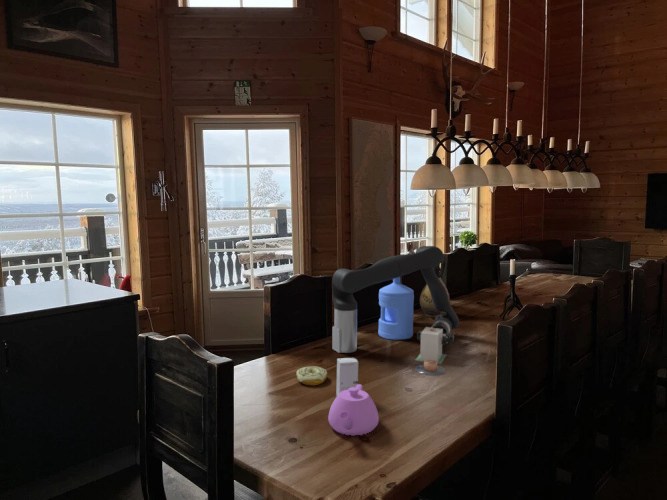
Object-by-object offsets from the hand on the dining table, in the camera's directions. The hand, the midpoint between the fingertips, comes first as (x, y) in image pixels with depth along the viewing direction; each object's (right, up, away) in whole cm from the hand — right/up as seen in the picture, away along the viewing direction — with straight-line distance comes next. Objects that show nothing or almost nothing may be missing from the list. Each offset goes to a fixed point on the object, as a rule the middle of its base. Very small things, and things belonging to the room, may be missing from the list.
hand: (432, 341), depth 190 cm
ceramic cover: (0, -6, 0) cm, 6 cm away
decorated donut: (-46, -9, -23) cm, 52 cm away
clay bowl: (-3, -8, -14) cm, 16 cm away
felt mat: (0, -7, 0) cm, 7 cm away
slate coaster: (-3, -8, -14) cm, 17 cm away
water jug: (-10, -3, +30) cm, 32 cm away
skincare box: (-34, -11, -37) cm, 52 cm away
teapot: (-33, -13, -57) cm, 67 cm away
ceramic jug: (+15, +1, +68) cm, 70 cm away
